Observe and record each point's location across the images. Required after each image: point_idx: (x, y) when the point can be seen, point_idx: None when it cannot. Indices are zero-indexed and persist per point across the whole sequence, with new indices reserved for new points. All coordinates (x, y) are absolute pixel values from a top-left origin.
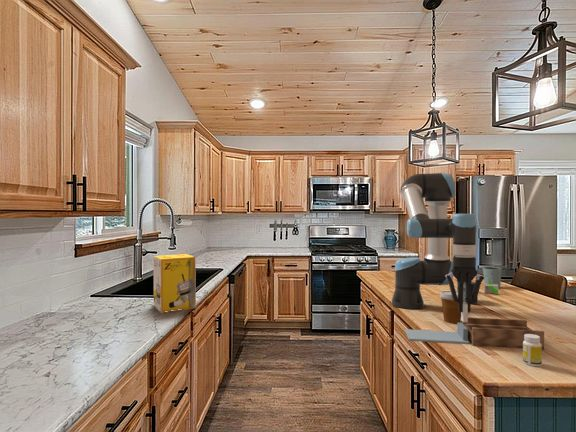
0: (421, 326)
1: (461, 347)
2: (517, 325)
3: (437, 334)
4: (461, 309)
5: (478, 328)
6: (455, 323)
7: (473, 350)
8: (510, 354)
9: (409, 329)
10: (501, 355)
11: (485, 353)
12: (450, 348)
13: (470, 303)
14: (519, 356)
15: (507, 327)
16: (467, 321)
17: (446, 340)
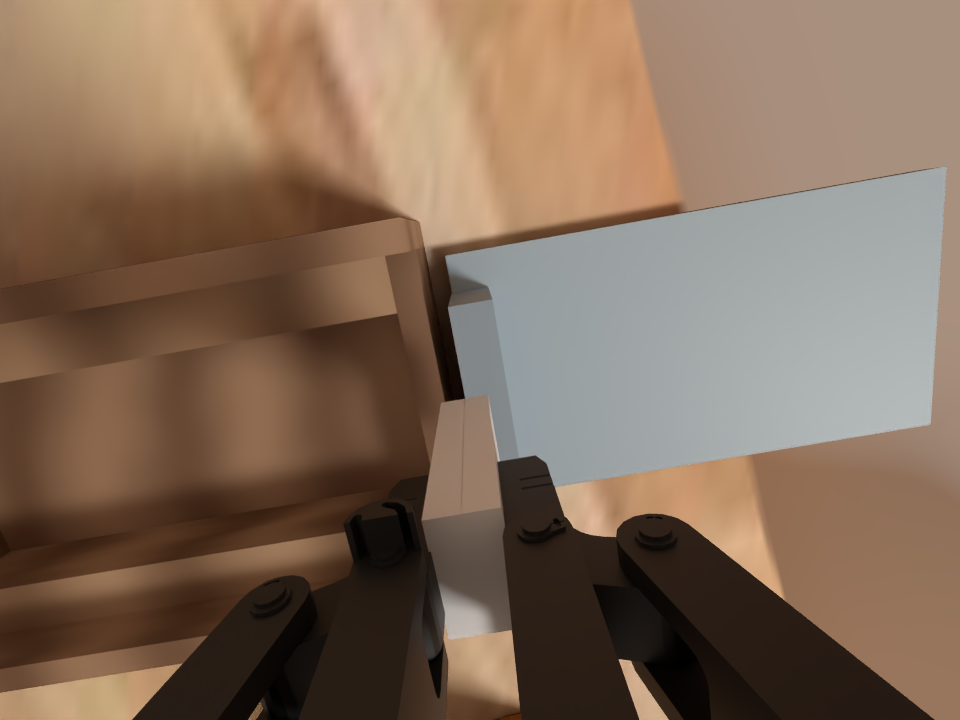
0: (767, 574)
1: (513, 141)
2: (13, 632)
3: (681, 373)
4: (517, 479)
5: (339, 228)
6: (505, 717)
7: (424, 94)
8: (142, 98)
9: (896, 428)
10: (211, 41)
11: (333, 47)
12: (606, 77)
13: (366, 511)
14: (75, 70)
15: (100, 568)
16: (442, 404)
17: (627, 232)
